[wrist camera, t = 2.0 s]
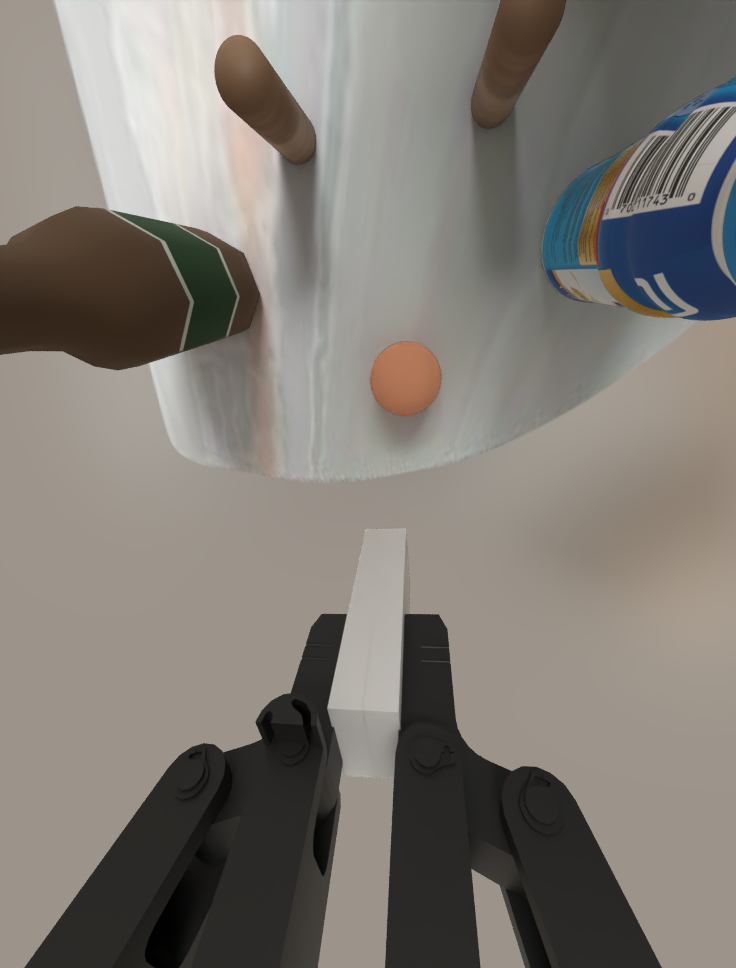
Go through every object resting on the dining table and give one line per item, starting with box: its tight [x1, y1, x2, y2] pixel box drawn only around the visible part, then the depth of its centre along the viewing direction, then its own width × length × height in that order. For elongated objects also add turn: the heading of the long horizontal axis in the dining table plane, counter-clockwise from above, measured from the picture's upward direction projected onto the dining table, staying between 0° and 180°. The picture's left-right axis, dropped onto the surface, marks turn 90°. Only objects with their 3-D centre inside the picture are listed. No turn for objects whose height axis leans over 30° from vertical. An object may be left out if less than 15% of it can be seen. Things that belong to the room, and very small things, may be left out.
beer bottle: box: [0, 207, 260, 370], centre depth 20 cm, size 8×8×24 cm
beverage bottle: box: [541, 77, 736, 320], centre depth 17 cm, size 8×8×20 cm
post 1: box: [215, 35, 316, 164], centre depth 21 cm, size 3×3×9 cm
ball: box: [370, 342, 441, 415], centre depth 29 cm, size 6×6×6 cm
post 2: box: [471, 0, 566, 128], centre depth 19 cm, size 3×3×9 cm
